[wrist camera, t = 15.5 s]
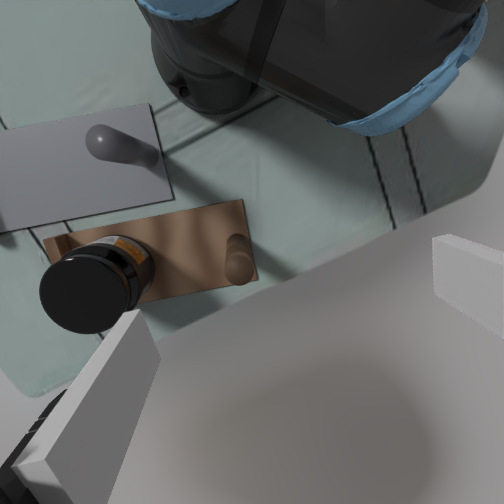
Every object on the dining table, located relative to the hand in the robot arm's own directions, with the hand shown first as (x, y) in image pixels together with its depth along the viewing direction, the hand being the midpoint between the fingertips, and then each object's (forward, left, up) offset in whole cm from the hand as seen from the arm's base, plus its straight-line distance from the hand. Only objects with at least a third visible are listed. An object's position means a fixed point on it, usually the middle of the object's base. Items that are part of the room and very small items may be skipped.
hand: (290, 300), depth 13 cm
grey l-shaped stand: (+25, -11, -32) cm, 42 cm away
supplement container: (+21, +4, -32) cm, 38 cm away
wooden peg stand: (+15, +4, -32) cm, 35 cm away
